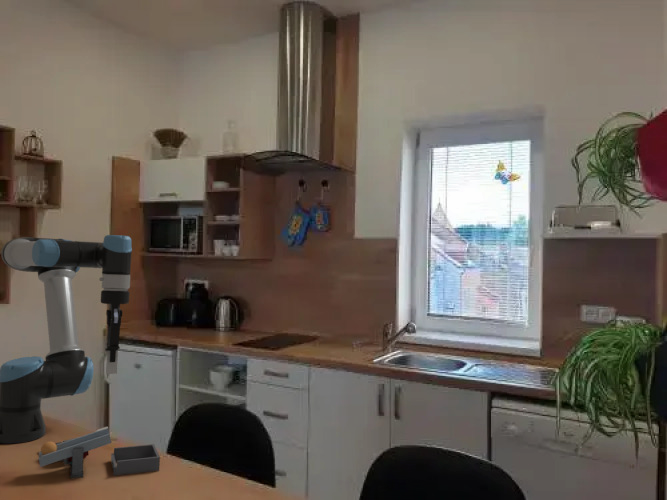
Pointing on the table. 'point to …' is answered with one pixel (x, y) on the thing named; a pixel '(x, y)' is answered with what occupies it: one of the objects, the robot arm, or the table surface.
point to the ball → (48, 448)
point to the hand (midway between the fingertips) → (111, 373)
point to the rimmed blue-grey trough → (76, 446)
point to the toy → (69, 460)
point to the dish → (135, 459)
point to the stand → (77, 463)
